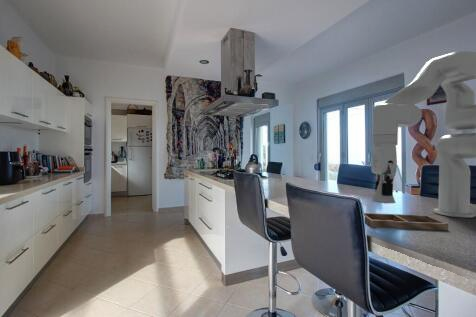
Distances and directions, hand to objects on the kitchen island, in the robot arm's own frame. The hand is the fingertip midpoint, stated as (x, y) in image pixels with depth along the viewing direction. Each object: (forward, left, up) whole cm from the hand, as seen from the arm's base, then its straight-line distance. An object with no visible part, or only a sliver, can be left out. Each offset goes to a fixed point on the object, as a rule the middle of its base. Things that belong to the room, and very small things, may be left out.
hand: (383, 193), depth 89 cm
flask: (0, 0, -3) cm, 3 cm away
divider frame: (-6, 0, -10) cm, 12 cm away
